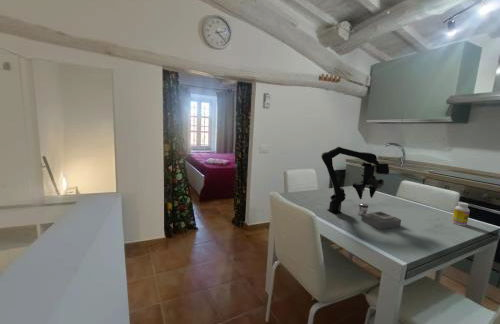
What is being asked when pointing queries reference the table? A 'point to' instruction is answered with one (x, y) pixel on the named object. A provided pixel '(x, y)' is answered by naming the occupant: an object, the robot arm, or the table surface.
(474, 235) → the table surface
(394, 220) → the grey flat block
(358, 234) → the table surface
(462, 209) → the supplement bottle
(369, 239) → the table surface
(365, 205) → the lens
